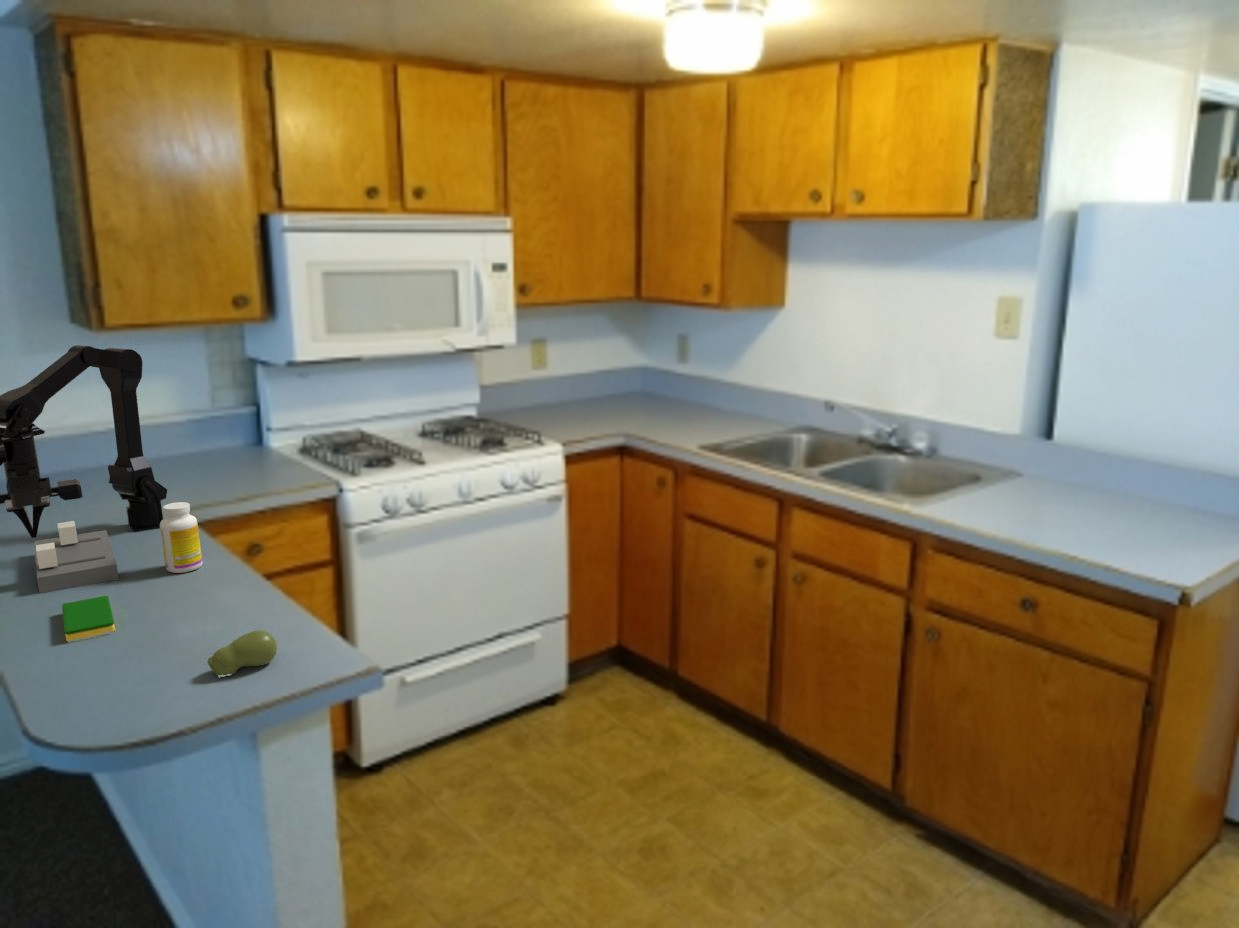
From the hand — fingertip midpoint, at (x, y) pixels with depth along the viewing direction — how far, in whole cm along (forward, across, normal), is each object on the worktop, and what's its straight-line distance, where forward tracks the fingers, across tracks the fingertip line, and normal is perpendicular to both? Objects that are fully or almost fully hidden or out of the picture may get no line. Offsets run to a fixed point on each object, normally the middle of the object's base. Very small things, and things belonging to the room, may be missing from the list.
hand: (34, 537), depth 188 cm
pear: (+6, +26, -70) cm, 75 cm away
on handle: (+2, +2, -13) cm, 13 cm away
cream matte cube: (+2, +6, 0) cm, 6 cm away
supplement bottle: (+6, +24, -19) cm, 31 cm away
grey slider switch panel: (+5, +6, -7) cm, 11 cm away
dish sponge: (+6, +7, -38) cm, 40 cm away
